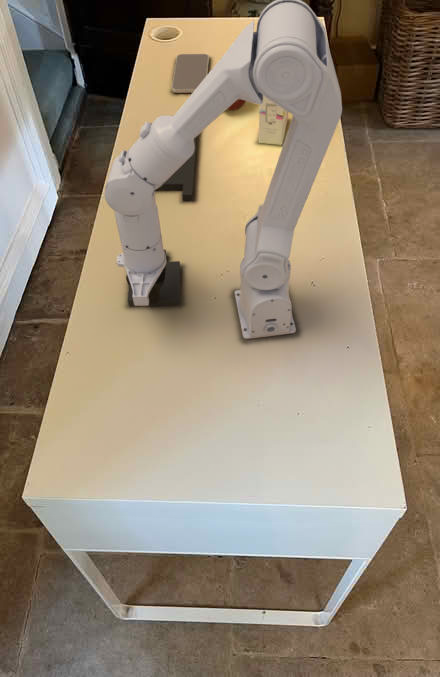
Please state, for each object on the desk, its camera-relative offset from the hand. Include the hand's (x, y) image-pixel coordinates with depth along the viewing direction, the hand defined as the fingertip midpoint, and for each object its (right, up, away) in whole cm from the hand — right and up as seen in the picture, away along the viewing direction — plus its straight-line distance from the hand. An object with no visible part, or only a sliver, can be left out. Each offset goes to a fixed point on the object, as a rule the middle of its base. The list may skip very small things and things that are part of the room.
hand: (152, 300), depth 94 cm
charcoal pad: (0, +4, +4) cm, 5 cm away
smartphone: (+4, +53, +41) cm, 67 cm away
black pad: (+1, +28, +22) cm, 35 cm away
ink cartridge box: (+21, +35, +27) cm, 49 cm away
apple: (+13, +42, +33) cm, 55 cm away
